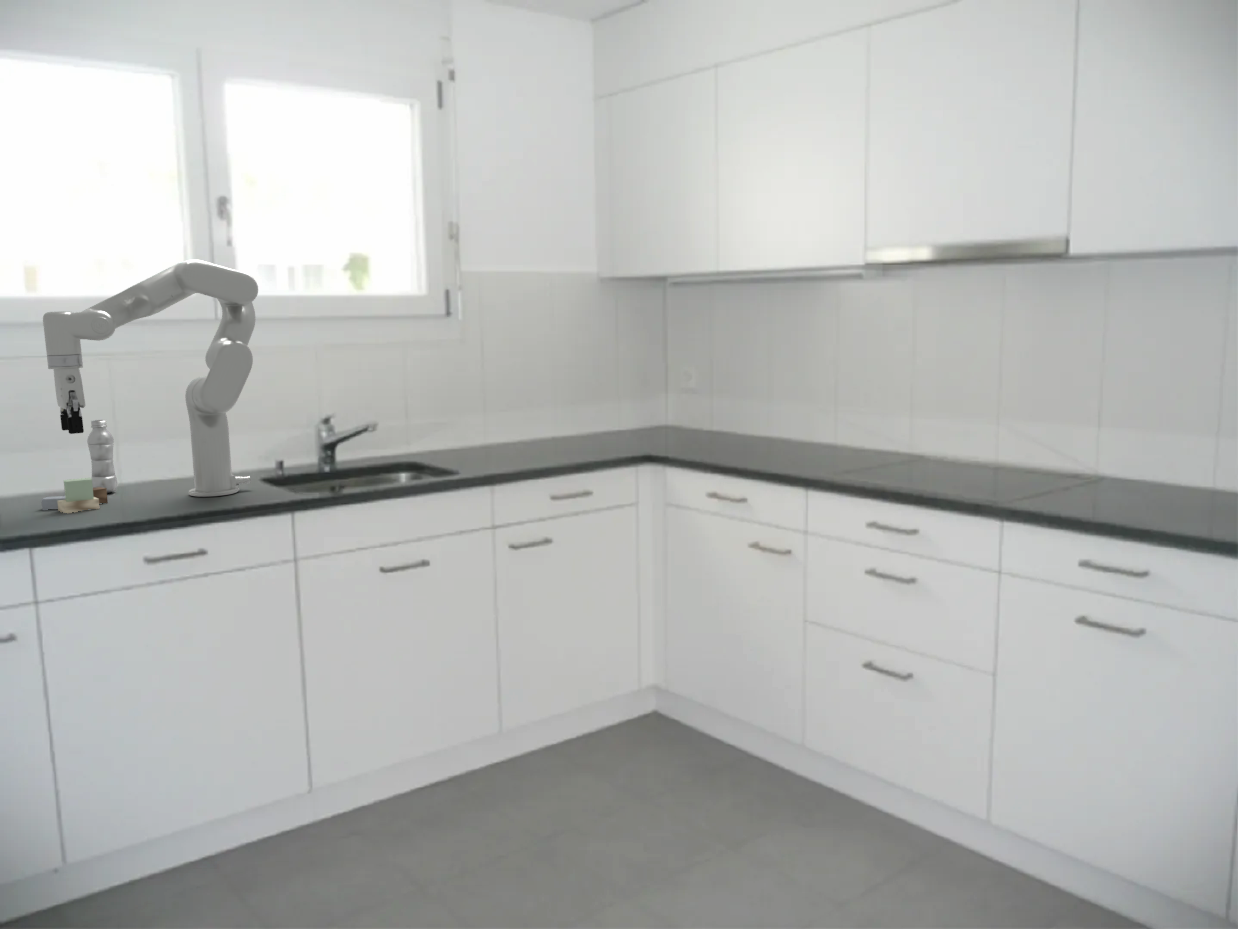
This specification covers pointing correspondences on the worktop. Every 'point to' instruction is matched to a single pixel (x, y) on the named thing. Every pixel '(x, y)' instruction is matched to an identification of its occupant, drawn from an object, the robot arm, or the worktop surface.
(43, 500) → the slate brick
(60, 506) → the birch brick
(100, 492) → the walnut brick
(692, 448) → the worktop surface
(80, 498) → the sage brick
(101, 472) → the plastic bottle
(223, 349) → the robot arm
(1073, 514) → the worktop surface
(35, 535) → the worktop surface
